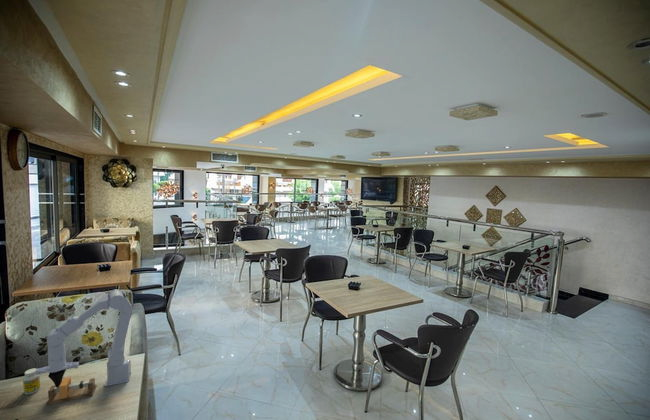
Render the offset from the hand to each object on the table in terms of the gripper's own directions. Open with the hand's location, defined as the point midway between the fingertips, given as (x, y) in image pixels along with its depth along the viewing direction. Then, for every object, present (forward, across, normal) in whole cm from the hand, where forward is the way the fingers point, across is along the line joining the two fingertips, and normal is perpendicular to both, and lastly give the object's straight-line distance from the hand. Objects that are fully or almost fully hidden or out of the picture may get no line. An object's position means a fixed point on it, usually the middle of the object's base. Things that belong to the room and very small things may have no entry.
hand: (58, 385), depth 133 cm
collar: (+5, -2, 0) cm, 5 cm away
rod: (+3, -5, 0) cm, 5 cm away
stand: (+6, -5, 0) cm, 7 cm away
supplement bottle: (+6, +13, -10) cm, 17 cm away
